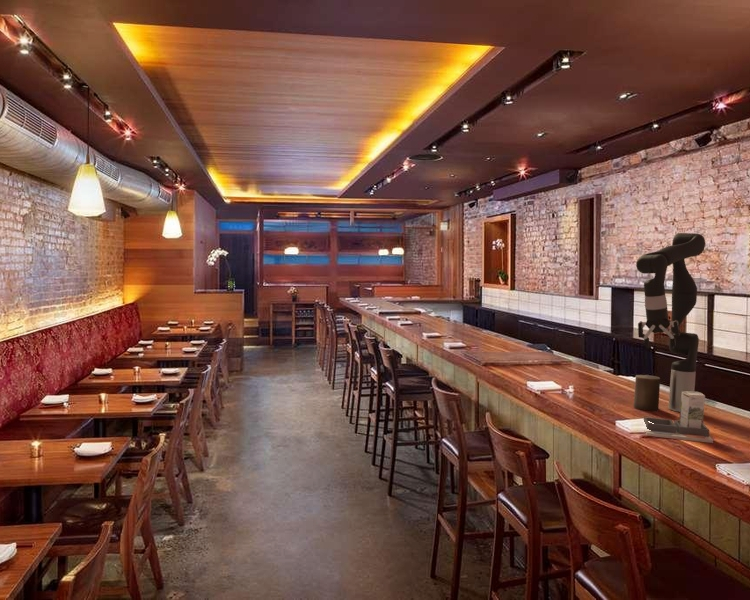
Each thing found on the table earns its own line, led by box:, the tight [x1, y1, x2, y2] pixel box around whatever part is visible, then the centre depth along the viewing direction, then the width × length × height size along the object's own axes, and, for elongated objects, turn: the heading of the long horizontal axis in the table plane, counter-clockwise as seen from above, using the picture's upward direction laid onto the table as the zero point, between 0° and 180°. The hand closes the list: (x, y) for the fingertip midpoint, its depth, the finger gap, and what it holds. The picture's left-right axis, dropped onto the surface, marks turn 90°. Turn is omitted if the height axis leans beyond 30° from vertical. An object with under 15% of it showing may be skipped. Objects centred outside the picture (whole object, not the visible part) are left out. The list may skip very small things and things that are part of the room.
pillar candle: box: [633, 373, 661, 412], centre depth 250 cm, size 10×10×15 cm
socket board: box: [642, 416, 714, 444], centre depth 214 cm, size 14×21×4 cm, turn 73°
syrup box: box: [678, 391, 706, 429], centre depth 213 cm, size 6×6×14 cm
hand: (660, 347), depth 225 cm, fingers open, 8 cm apart
